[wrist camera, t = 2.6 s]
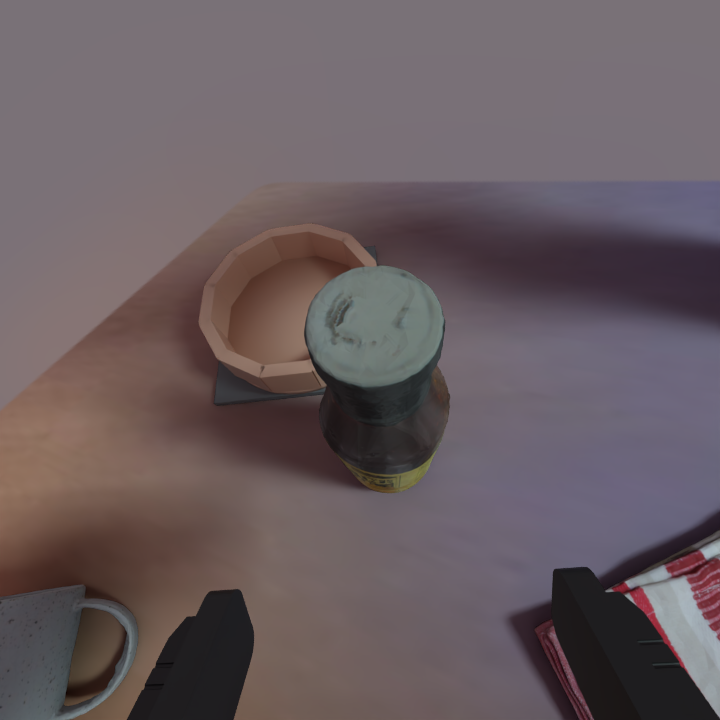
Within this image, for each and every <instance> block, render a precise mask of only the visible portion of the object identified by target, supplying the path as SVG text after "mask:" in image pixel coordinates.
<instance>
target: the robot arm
mask: <svg viewBox="0 0 720 720" xmlns="http://www.w3.org/2000/svg"><path fill="white" fill-rule="evenodd" d="M551 614H552V621H553V626H554V629H555V633H556V636H557V639H558V641H559V644H560V646H561V648H562V650H563V653H564V655H565V657H566V659H567V661H568V664H569V666H570V668H571V670H572V673H573V675H574V677H575V679H576V681H577V684H578V686H579V688H580V690H581V693H582V695H583V697H584V699H585V701H586V704H587V706H588V708H589V710H590V712H591V715H592V717H593V719H594V720H720V718H719V716H718V715H717V714H716V712H715V711H714V709H713V708H712V707H711V705H710V704H709V702H708V701H707V700H706V698H705V697H704V695H703V694H702V693H701V691H700V690H699V688H698V687H697V686H696V684H695V683H694V681H693V680H692V678H691V677H690V676H689V674H688V673H687V671H686V670H685V669H684V667H681V665H680V663H679V660H678V659H677V657H676V656H675V655H674V653H673V652H672V650H671V649H670V648H669V646H668V645H667V644H665V643H664V641H663V638H662V636H661V635H660V634H659V632H658V631H657V629H656V628H655V627H654V625H653V624H652V622H651V621H650V620H649V618H648V617H647V615H646V614H645V613H644V612H643V611H642V610H641V609H640V608H639V607H637V606H636V605H635V604H634V603H633V602H632V601H630V600H629V599H628V598H627V597H626V596H625V595H623V594H622V593H621V592H620V591H615V592H605V590H604V589H603V587H602V585H601V584H600V582H599V581H598V579H597V578H596V576H595V575H594V573H593V572H592V571H591V570H590V569H589V568H588V567H576V568H561V569H554V571H553V583H552V608H551ZM253 646H254V631H253V626H252V623H251V620H250V617H249V614H248V611H247V608H246V605H245V602H244V598H243V595H242V593H241V591H240V590H239V589H234V590H219V591H210V592H209V593H208V594H207V595H206V597H205V598H204V600H203V602H202V605H201V607H200V609H199V611H198V613H197V615H196V616H192V617H186V619H185V620H184V621H183V622H182V623H181V624H180V626H179V627H178V628H177V629H176V630H175V631H174V633H173V634H172V635H171V636H170V637H169V638H168V640H167V642H166V644H165V646H164V648H163V650H162V652H161V654H160V656H159V658H158V660H157V662H156V667H155V668H153V670H152V672H151V674H150V676H149V677H148V679H147V681H146V683H145V688H144V690H142V691H141V693H140V695H139V697H138V699H137V701H136V703H135V705H134V707H133V709H132V711H131V713H130V715H129V717H128V719H127V720H233V719H234V716H235V713H236V709H237V706H238V702H239V699H240V695H241V692H242V689H243V685H244V682H245V678H246V675H247V671H248V668H249V665H250V661H251V657H252V653H253Z"/></svg>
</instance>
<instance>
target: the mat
mask: <svg viewBox="0 0 720 720" xmlns="http://www.w3.org/2000/svg"><path fill="white" fill-rule="evenodd" d="M363 248H364V249H365V250H366V251H367V252H368V253H369V254H370V255H371V256H372V257H373V258H374V260H375V261H376V264H377V260H376V251H375V246H371V247H363ZM325 389H326V388H324V389H321V390H317V391H314V392H310V393H304V394H292V395H287V394H277V393H272V392H268V391H265V390H262V389H260V388H257V387H255V386H253V385H252V384H250V383H248V382H247V381H246V380H244V379H241V378H239V377H237V376H235V375H234V374H233V373H232V372H231V371H230V370H229V369H228V368H227V367H226V366H224V365H223V364H222V363H221V362H220V361H219V365H218V374H217V382H216V390H215V399H214V404H216V405H217V406H219V405H228V404H238V403H247V402H256V401H266V400H275V399H285V398H294V397H303V396H313V395H322V394H324V392H325Z"/></svg>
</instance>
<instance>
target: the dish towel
mask: <svg viewBox="0 0 720 720" xmlns="http://www.w3.org/2000/svg"><path fill="white" fill-rule="evenodd" d="M615 591H620V592H621V593H622V594H623V595H625V596H626V597H627V598H628V599H629V600H630V601H632V602H633V603H634V604H635V605H636V606H637V607H639V608H640V609H641V610H642V611H643V612H644V613H645V614H646V615H647V617H648V618H649V620H650V621H651V622H652V624H653V625H654V627H655V628H656V629H657V631H658V632H659V634H660V635H661V636H662V638H663V641H664V643H665V644H667V645H668V646H669V648H670V649H671V650H672V652H673V653H674V655H675V656H676V657H677V659H678V660H679V663H680V665H681V667H684V669H685V670H686V671H687V673H688V674H689V676H690V677H691V678H692V680H693V681H694V683H695V684H696V686H697V687H698V688H699V690H700V691H701V693H702V694H703V695H704V697H705V698H706V700H707V701H708V702H709V704H710V705H711V707H712V708H713V709H714V711H715V712H716V714H717V715H718V716H719V718H720V530H719V531H717V532H715V533H714V534H712V535H710V536H709V537H707V538H705V539H703V540H701V541H699V542H698V543H696V544H693V545H692V546H689V547H687V548H685V549H683V550H681V551H679V552H677V553H675V554H673V555H671V556H670V557H668V558H666V559H664V560H662V561H660V562H658V563H656V564H654V565H652V566H650V567H648V568H646V569H645V570H643V571H642V572H640V573H638V574H635V575H633V576H631V577H629V578H627V579H625V580H624V581H622V582H620V583H618V584H616V585H614V586H612V587H610V588H608V589H607V590H605V592H615ZM534 631H535V633H536V635H537V636H538V638H539V640H540V642H541V644H542V647H543V649H544V651H545V653H546V655H547V657H548V659H549V661H550V663H551V665H552V667H553V669H554V671H555V672H556V674H557V676H558V678H559V680H560V682H561V684H562V686H563V688H564V690H565V692H566V694H567V696H568V698H569V699H570V701H571V703H572V705H573V707H574V709H575V711H576V714H577V716H578V718H579V720H594V719H593V717H592V715H591V712H590V710H589V708H588V706H587V704H586V701H585V699H584V697H583V695H582V693H581V690H580V688H579V686H578V684H577V681H576V679H575V677H574V675H573V673H572V670H571V668H570V666H569V664H568V661H567V659H566V657H565V655H564V653H563V650H562V648H561V646H560V644H559V641H558V639H557V636H556V633H555V629H554V626H553V621H552V619H549V620H547V621H545V622H543V623H541V624H540V625H539V626H537V627H536V628H535V630H534Z"/></svg>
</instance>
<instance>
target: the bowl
mask: <svg viewBox="0 0 720 720" xmlns="http://www.w3.org/2000/svg"><path fill="white" fill-rule="evenodd" d="M231 251H232V252H231ZM231 251H230V252H229V253H228V255H227V256H226V257H225V258H224V260H223V261H222V262H221V264H220V265H219V266H218V267H217V269H216V270H215V271H214V273H213V274H212V275H211V276H210V278H209V279H208V280H207V282H206V283H205V285H204V290H203V296H202V303H201V309H200V316H199V322H198V323H199V326H200V328H201V330H202V332H203V334H204V335H205V337H206V339H207V341H208V343H209V345H210V347H211V348H212V350H213V352H214V354H215V356H216V358H217V359H218V360H219V361H220V362H221V363H222V364H223V365H224V366H226V367H227V368H228V369H229V370H230V371H231V372H232V373H233V374H234V375H235V376H237V377H239V378H241V379H244V380H246V381H247V382H248V383H250V384H252V385H253V386H255V387H257V388H260V389H262V390H265V391H268V392H272V393H277V394H287V395H292V394H304V393H310V392H314V391H317V390H321V389H324V388H326V386H327V385H326V384H325V382H324V381H323V380H322V379H321V378H320V376H319V375H318V374H317V372H316V370H315V368H314V366H313V364H312V362H311V359H310V355H309V352H308V348H307V346H306V344H305V338H304V328H305V321H306V317H307V313H308V308H309V306H310V303H311V301H312V300H313V299H314V297H315V295H316V294H317V293H318V292H319V291H320V290H321V289H322V288H323V286H324V285H325V284H326V283H327V282H329V281H330V280H332V279H334V278H335V277H337V276H339V275H340V274H342V273H344V272H346V271H349V270H351V269H354V268H359V267H366V266H369V267H375V266H377V264H376V261H375V260H374V258H373V257H372V256H371V255H370V254H369V253H368V252H367V251H366V250H365V249H364V248H363V247H362V246H361V245H360V244H359V243H358V242H357V240H356V239H355V238H354V237H353V236H352V235H351V234H349V233H345V232H342V231H338V230H335V229H331V228H328V227H324V226H321V225H317V224H313V223H312V224H311V223H307V224H300V225H294V226H287V227H280V228H273V229H269V230H266V231H264V232H263V233H261V234H259V235H257V236H256V237H254V238H252V239H250V240H249V241H247V242H245V243H243V244H242V245H240V246H238V247H236V248H234V249H233V250H231Z"/></svg>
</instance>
